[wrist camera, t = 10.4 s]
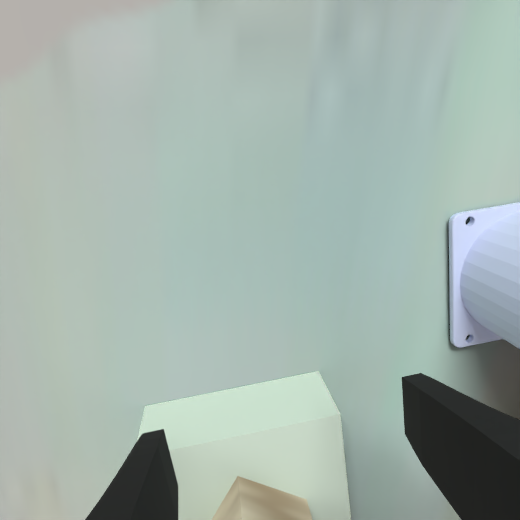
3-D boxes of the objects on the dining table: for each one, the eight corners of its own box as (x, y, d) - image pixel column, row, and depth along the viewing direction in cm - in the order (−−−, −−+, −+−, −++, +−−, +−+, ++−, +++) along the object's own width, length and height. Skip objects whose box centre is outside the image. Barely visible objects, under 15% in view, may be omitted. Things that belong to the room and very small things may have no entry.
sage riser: (318, 370, 23) (340, 413, 20) (333, 505, 26) (355, 565, 22) (145, 405, 23) (132, 458, 19) (180, 541, 25) (175, 610, 22)
